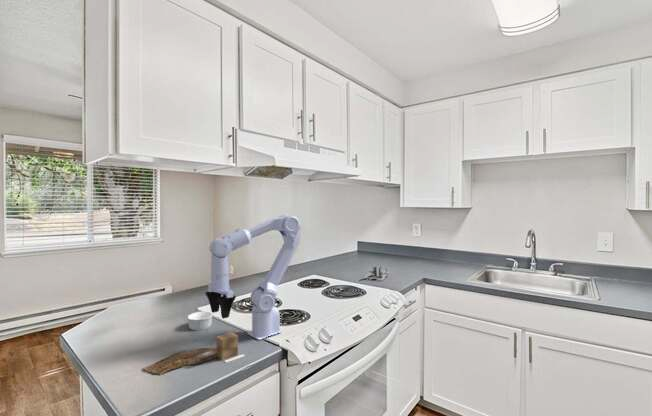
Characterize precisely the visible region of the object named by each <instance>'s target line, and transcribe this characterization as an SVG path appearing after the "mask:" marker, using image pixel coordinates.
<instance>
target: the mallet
mask: <svg viewBox="0 0 652 416" xmlns="http://www.w3.org/2000/svg"><path fill="white" fill-rule="evenodd" d="M216 347H217V349H215V350H212V351H209V352H206V353H203V354H200V355H197V356H195V358H196V360H199V359H202V358H205V357H207V356H210V355H213V354H216V353H217V355H218V358H219V359H220V360H221V361H226V360H228V359H231V358H234V357H237V356H239V355H238V354H239V335H237V334H236V333H234V332H232V331H231V332H227V333H223V334H220V335H216Z"/></svg>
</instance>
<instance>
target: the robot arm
mask: <svg viewBox="0 0 652 416" xmlns="http://www.w3.org/2000/svg"><path fill="white" fill-rule="evenodd" d="M301 229H302V225H301V223H300V220H299V219H298V217H296V216H295V215H285V214H281V215H279V216H276V217H272V218H270V219H268V220H266V221H264V222H262V223H260V224H258V225H255V226H254V227H251V228H249V229H245V228H236V229H235V231H233V232H230V233H229V234H227V235H226V234H223V235H222V237H221V238H220V237H217V238H215V239H213V240H212V241H211V243H210V245H209V251H210V253H211V261H210V283H208V284H207V287H208V288H207V291H206V292H204V293H205V296H206V297H207V299H208V303H209V306H210V310H211V311H210V312H211V313H212V314H213V313H218V312H219V311H220V316H221V318H222V319H223V320H224V319H227V318H230V314H231V310H232V306H233V304H234V301H235V300H236V297H237V296H236V295H234V290H232V289H231V287H230V260H229V254H231V252H233V251H236V250H238V249H240V248H242V247H244V246H246V245H249V244H250V242H251V240H252V239H253V238H256V237H259V236H261V235H264V234H266V233H268V232H271V231H278V232H279V233H280V235H281V237H282V238H283V241H284V242H283V244H282V246H281V248H280V250H279V252H278V253H277V254H276V257H275V259H274V261H273V263H272V264H271V267H270V268H269V270H268V273H266V275H265V278H264V279H263V281H261V282H260V283H259V284H258V286H257V287H256V288H254V289H253V291H252V292H251V294H250V301H251V303H252V304H253V306H252V309H251V313H252V314H251V322H252V323H251V325H252V326H251V330H250V331H247V333H246V334H247V335H249V336H251V337H253V338H254V339H255V340H257V341H261V340H264V339H266V337H267V338H269V337H268V336H270V337H272V336H271V335H273V336H275V335H274V334H276V335H278V334H277V333H279V334H281V333H282V331H281V322H280V321H281V320H280V319H281V315H280V311H279V309H278V307H276V306H275V302H276V300H275V299H276V297H277V294H278V286H279V283H280V281H281V280H282V279H283V276H284V275H285V272H286V271H287V269H288V267H289V265H290V263H291V260H292V258H294V255H295V253H296V251H297V249H298V247H299V246H300V243H301V242H300V237H301V234H300V233H301ZM280 332H281V333H280Z"/></svg>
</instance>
